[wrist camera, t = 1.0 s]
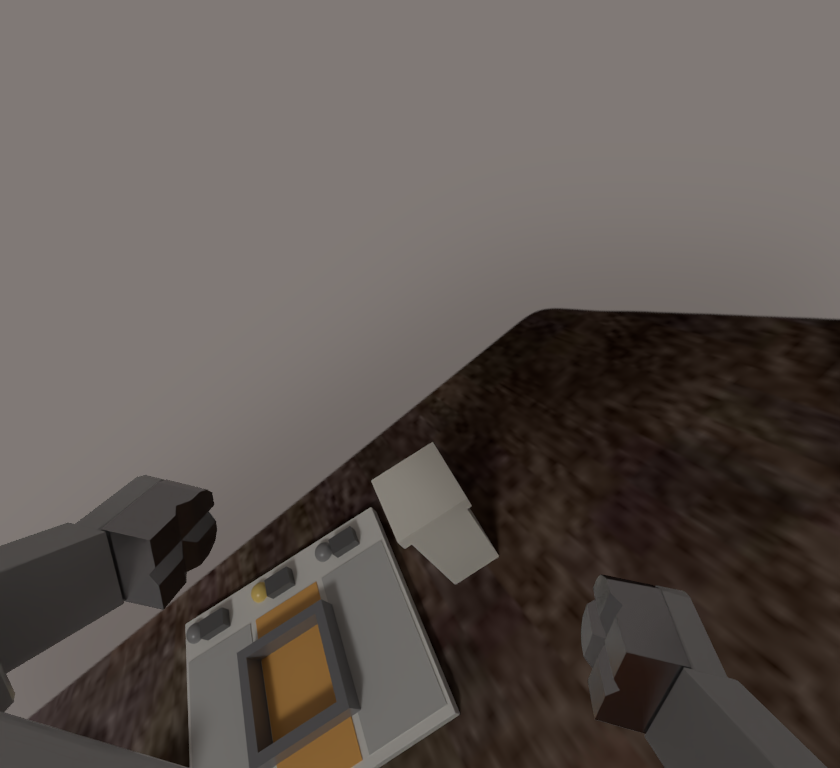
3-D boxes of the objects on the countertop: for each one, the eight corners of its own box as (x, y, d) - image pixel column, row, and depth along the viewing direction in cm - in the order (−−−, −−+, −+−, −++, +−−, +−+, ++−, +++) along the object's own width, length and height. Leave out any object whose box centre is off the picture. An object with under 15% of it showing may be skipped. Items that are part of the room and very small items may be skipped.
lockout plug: (475, 508, 40) (432, 441, 31) (505, 557, 36) (467, 498, 28) (427, 539, 40) (371, 480, 31) (453, 591, 36) (397, 542, 27)
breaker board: (376, 511, 43) (362, 498, 41) (460, 714, 31) (446, 711, 29) (194, 626, 43) (169, 620, 40) (205, 881, 30) (170, 892, 28)
